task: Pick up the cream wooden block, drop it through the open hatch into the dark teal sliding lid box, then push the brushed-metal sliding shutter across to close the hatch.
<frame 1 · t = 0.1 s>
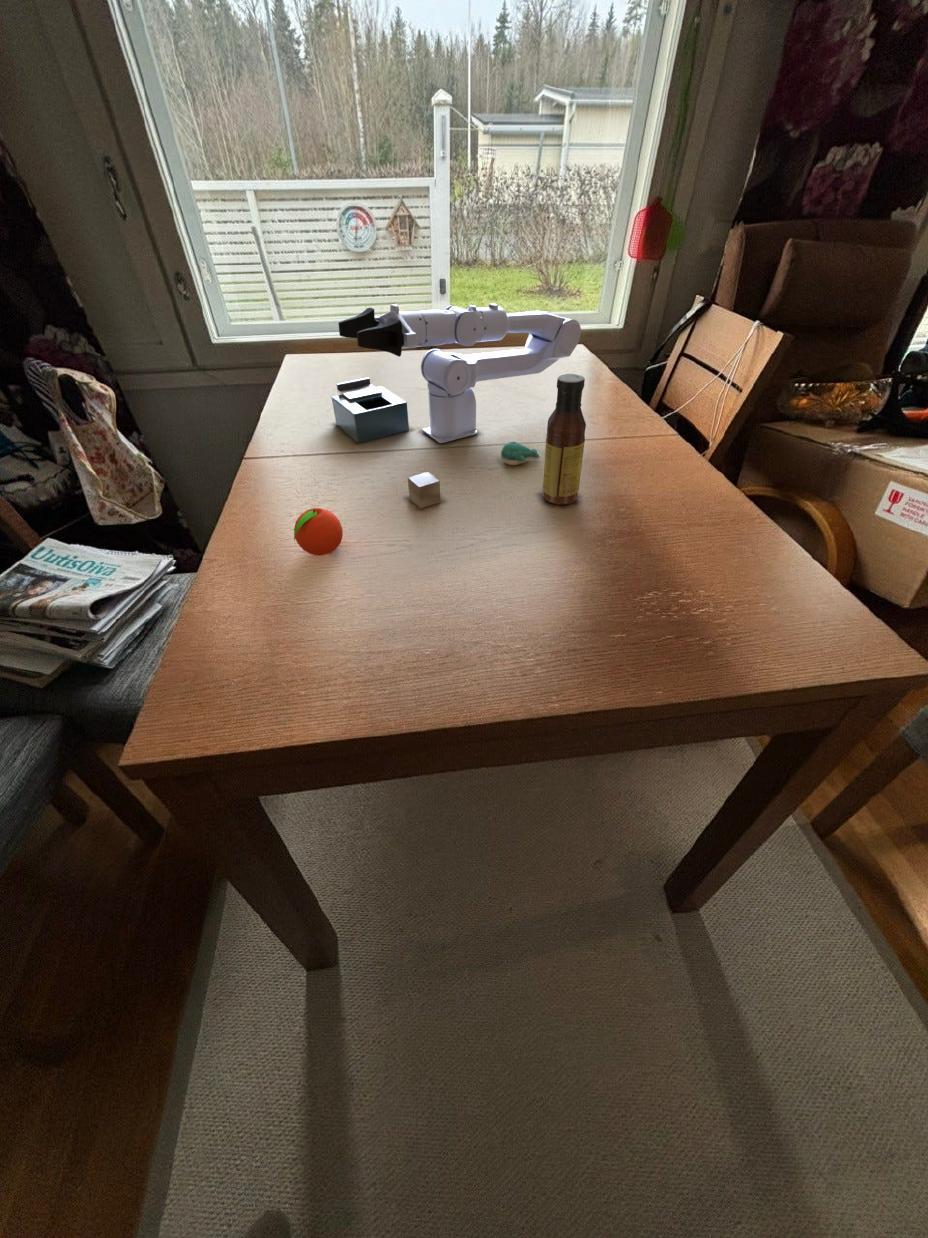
hand: (348, 334, 86), 22 cm above the table, tool horizontal, fingers open, 7 cm apart
shutter: (359, 388, 109), point 7 cm above the table, slide at 0.0 cm
whale figurine: (519, 462, 98), on the table
clementine: (321, 554, 76), on the table
block: (425, 500, 87), on the table
sliding lid box: (372, 427, 111), on the table
sauce bottle: (558, 498, 88), on the table
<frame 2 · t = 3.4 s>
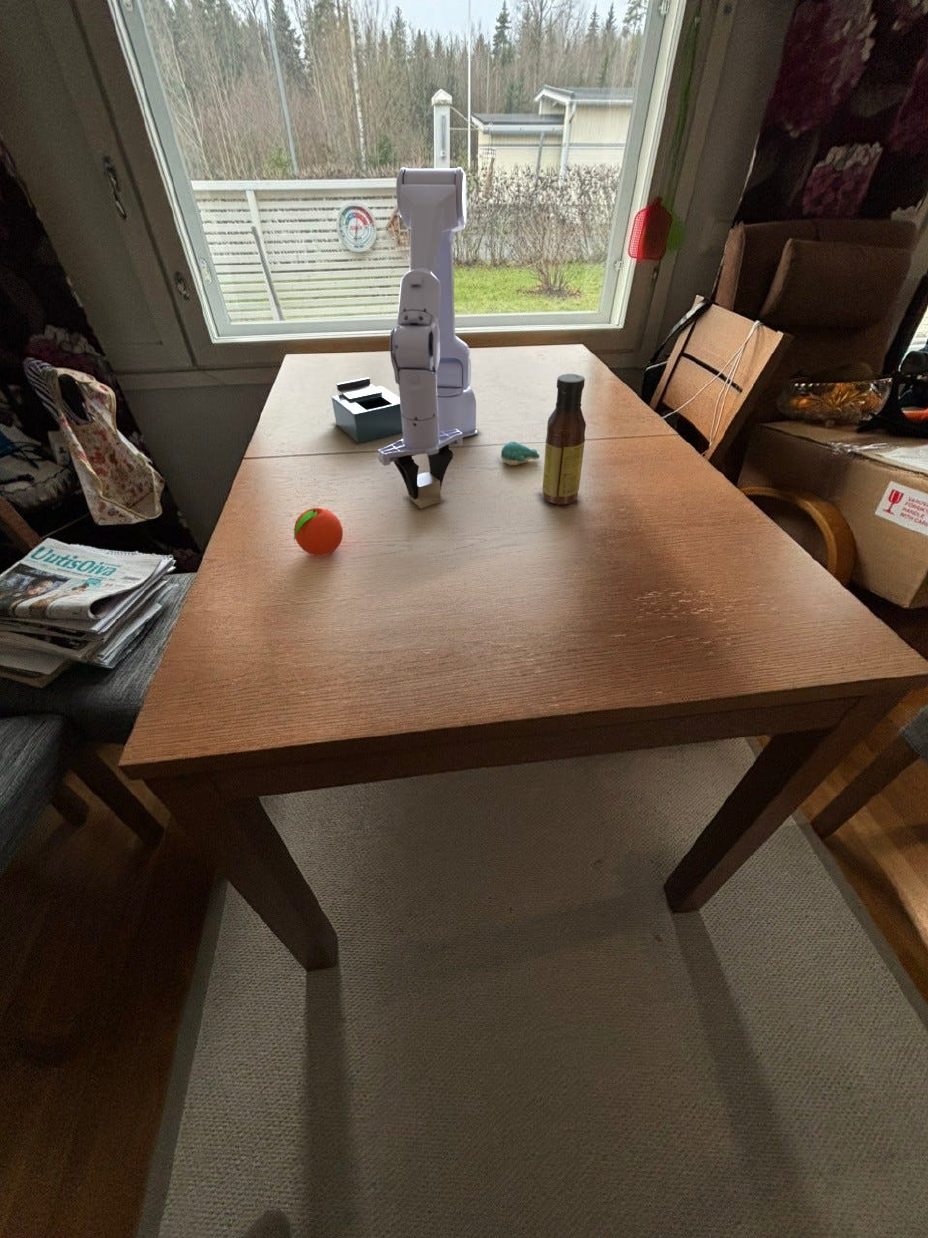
hand: (424, 493, 86), 1 cm above the table, tool pointing down, fingers closed on block, 4 cm apart
block: (425, 500, 87), on the table, touching gripper
everything else where it was.
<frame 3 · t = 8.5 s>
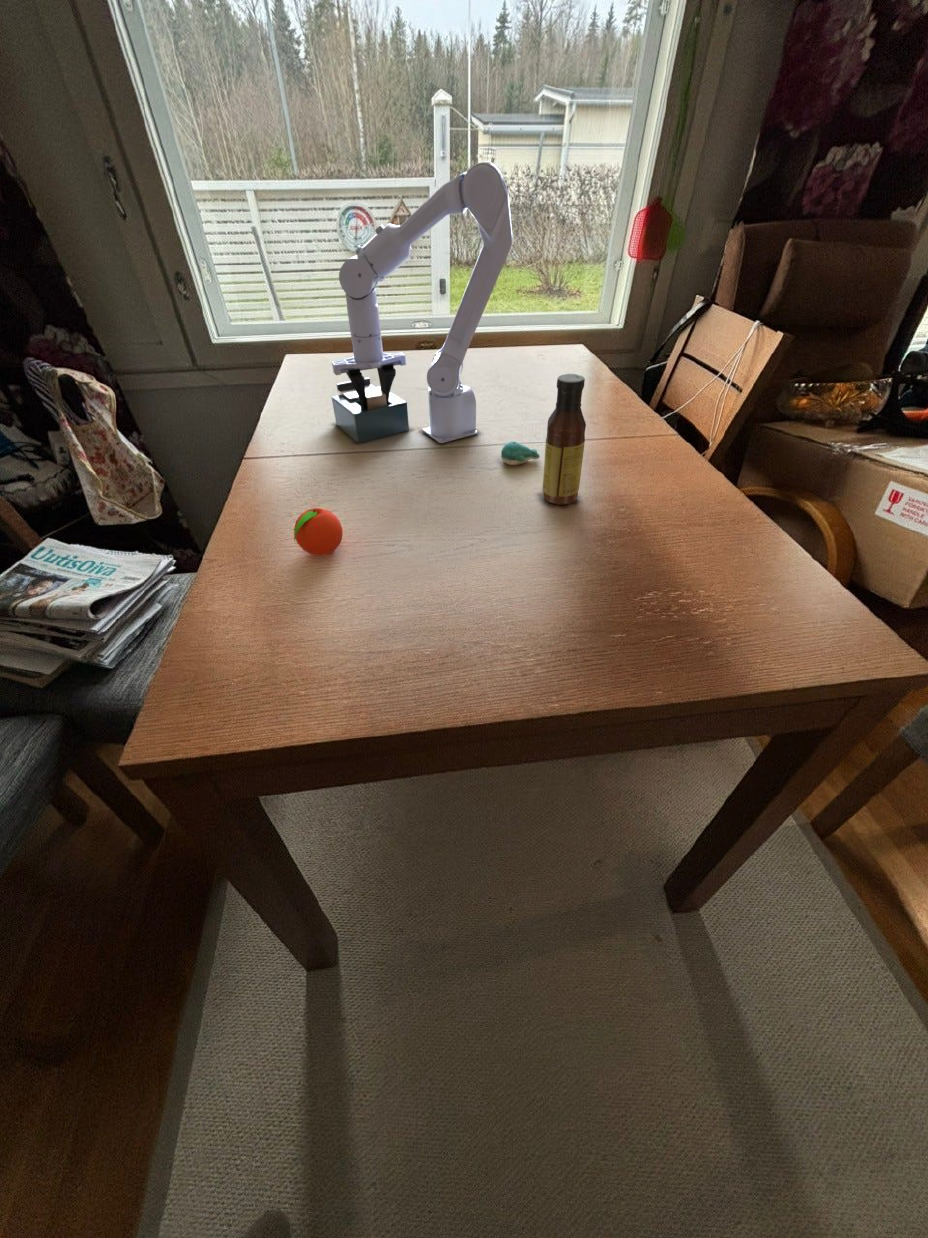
hand: (374, 405, 105), 5 cm above the table, tool pointing down, fingers closed on block, 4 cm apart
block: (375, 412, 106), point 4 cm above the table, touching gripper
everything else where it was.
when the fingers open (9 cm above the table, at t = 25.0 s): block drops 7 cm, resting on sliding lid box.
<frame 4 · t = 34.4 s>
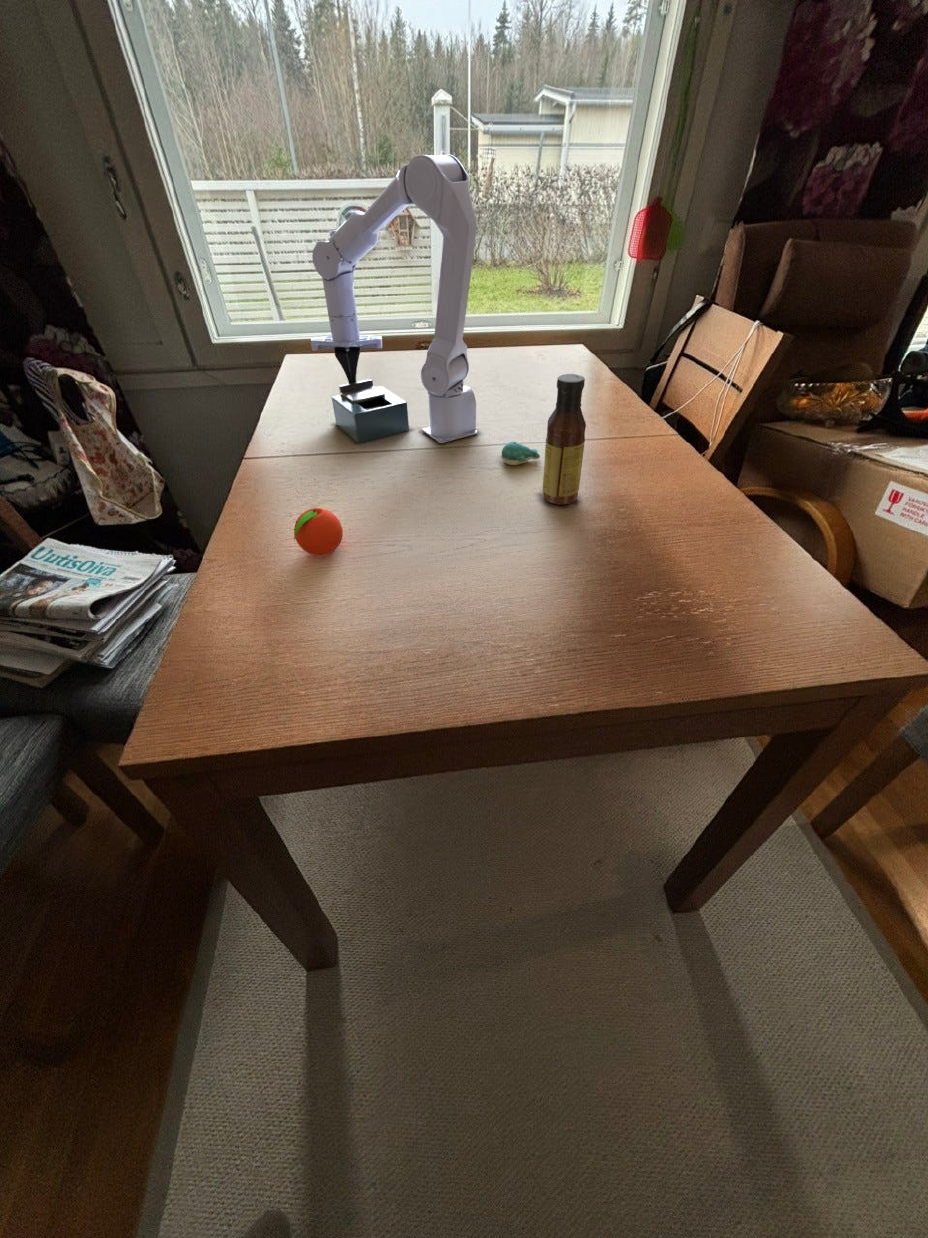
hand: (353, 384, 111), 7 cm above the table, tool pointing down, fingers closed
shutter: (361, 390, 108), point 7 cm above the table, slide at 1.4 cm, touching gripper
block: (377, 429, 109), resting on sliding lid box
everything else where it was.
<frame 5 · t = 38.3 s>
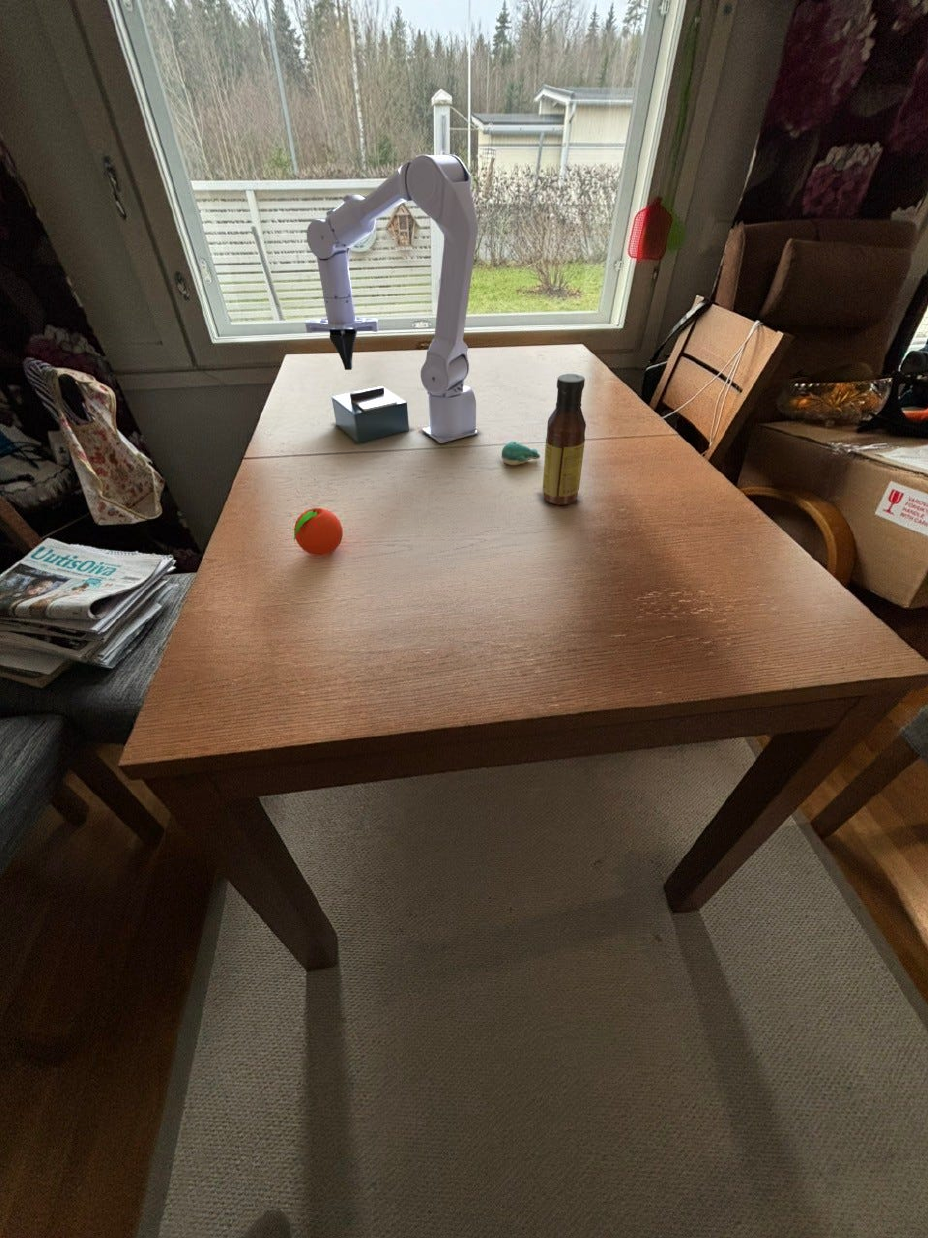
hand: (348, 368, 109), 10 cm above the table, tool pointing down, fingers closed
shutter: (373, 398, 104), point 7 cm above the table, slide at 7.0 cm
everything else where it was.
at the end: block inside the target area on the sliding lid box (2.7 cm from its centre), point 0.5 cm above the sliding lid box's base; shutter slide at 7.0 cm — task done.
